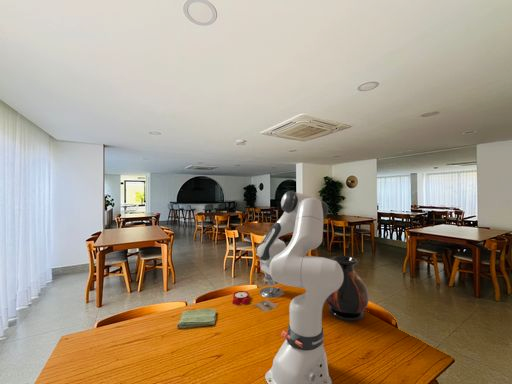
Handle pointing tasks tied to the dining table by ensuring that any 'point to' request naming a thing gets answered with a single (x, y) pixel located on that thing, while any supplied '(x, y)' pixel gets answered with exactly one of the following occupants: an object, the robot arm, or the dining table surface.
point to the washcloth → (197, 318)
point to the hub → (271, 292)
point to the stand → (266, 305)
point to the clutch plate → (268, 281)
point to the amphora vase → (348, 293)
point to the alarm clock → (241, 297)
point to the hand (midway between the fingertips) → (270, 281)
